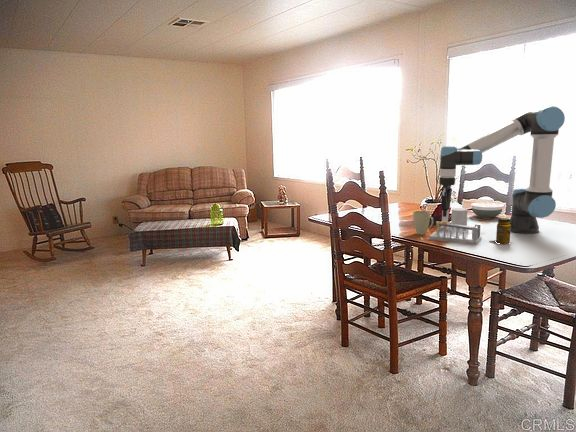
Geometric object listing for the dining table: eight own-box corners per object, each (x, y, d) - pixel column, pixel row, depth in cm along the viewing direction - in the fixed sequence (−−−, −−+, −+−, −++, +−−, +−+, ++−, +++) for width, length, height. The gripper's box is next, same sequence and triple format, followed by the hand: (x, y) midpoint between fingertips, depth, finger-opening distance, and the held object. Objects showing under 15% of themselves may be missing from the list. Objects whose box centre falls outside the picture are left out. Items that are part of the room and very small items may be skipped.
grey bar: (479, 230, 207) (480, 225, 207) (477, 232, 204) (478, 227, 203) (440, 225, 218) (440, 221, 217) (438, 226, 215) (438, 222, 214)
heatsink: (481, 239, 211) (482, 223, 210) (476, 244, 202) (477, 228, 200) (435, 234, 224) (436, 220, 223) (429, 239, 215) (429, 224, 213)
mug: (411, 235, 225) (412, 213, 222) (413, 231, 234) (413, 210, 231) (433, 236, 221) (433, 214, 218) (434, 232, 230) (434, 211, 227)
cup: (468, 231, 227) (468, 210, 224) (452, 231, 228) (453, 210, 226) (464, 228, 234) (465, 207, 232) (449, 228, 236) (450, 208, 234)
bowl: (474, 213, 274) (474, 201, 272) (505, 215, 263) (506, 203, 261) (467, 218, 259) (467, 206, 257) (500, 221, 248) (501, 207, 246)
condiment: (513, 243, 201) (515, 219, 198) (498, 245, 199) (500, 221, 197) (503, 240, 208) (504, 216, 205) (488, 241, 206) (489, 218, 204)
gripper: (443, 175, 217) (440, 219, 221) (436, 177, 206) (433, 223, 211) (458, 176, 212) (455, 220, 217) (451, 178, 202) (449, 225, 207)
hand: (444, 222), depth 214 cm, fingers closed
